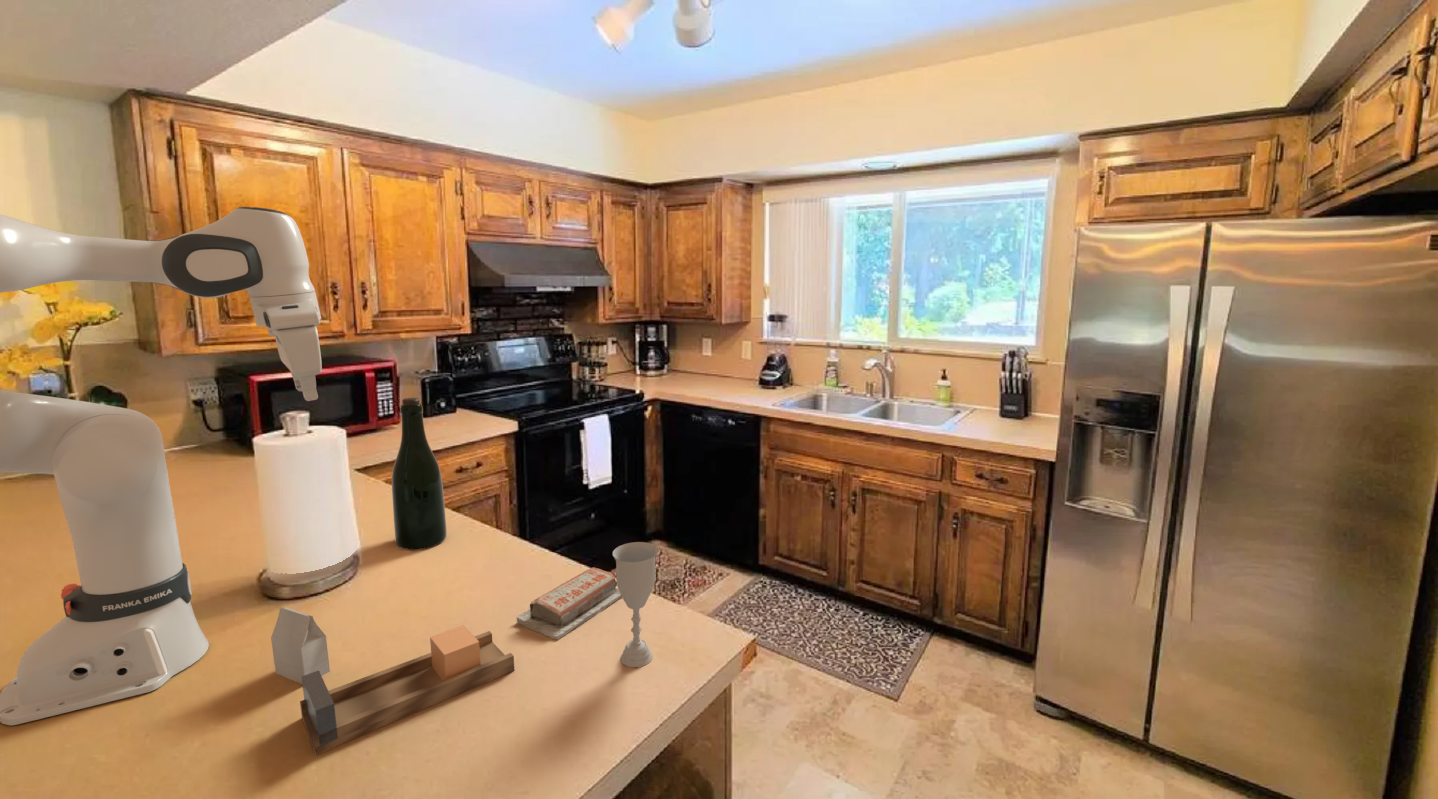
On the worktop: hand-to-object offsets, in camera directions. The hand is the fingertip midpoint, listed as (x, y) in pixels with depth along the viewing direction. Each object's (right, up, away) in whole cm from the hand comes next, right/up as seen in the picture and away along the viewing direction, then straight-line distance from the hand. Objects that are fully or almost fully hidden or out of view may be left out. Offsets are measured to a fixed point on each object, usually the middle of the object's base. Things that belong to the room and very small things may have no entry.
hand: (307, 394), depth 104 cm
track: (+25, -43, -14) cm, 52 cm away
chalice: (+56, -42, -5) cm, 70 cm away
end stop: (+17, -43, -22) cm, 51 cm away
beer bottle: (+2, -33, +37) cm, 50 cm away
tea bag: (+6, -42, -10) cm, 44 cm away
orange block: (+29, -42, -10) cm, 53 cm away
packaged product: (+42, -40, +9) cm, 59 cm away
